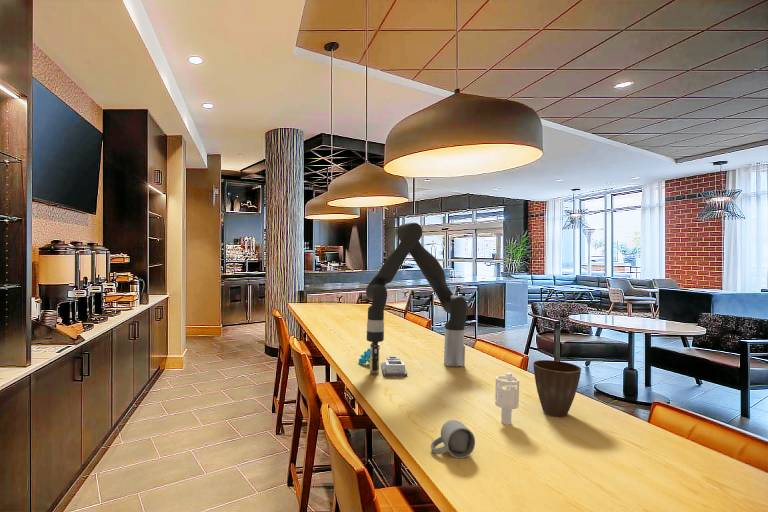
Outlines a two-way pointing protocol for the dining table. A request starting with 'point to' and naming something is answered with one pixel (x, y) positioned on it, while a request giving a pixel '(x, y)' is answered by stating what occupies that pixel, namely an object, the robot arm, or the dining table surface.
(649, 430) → the dining table surface
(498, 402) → the white stepped cylinder
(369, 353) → the gear
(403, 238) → the robot arm
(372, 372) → the cylinder
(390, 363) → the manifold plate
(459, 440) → the ceramic mug
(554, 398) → the plant pot
